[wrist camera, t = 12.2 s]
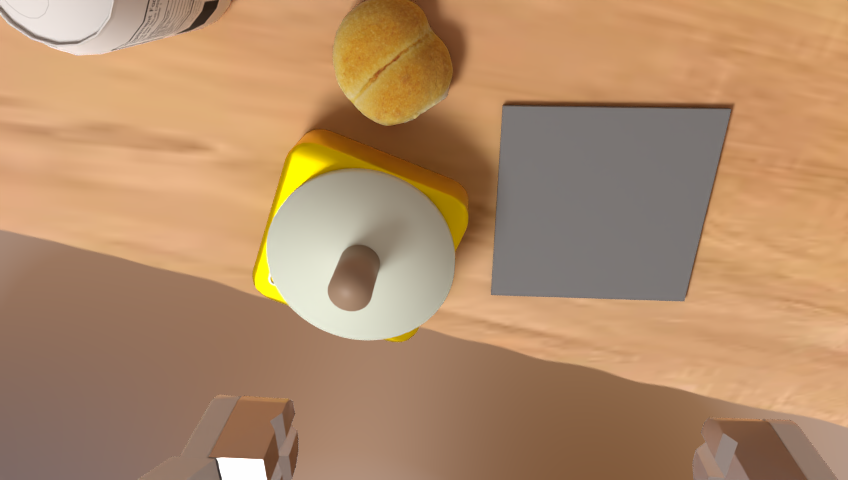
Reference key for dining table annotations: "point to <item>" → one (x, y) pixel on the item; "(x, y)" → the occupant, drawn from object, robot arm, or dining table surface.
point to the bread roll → (391, 61)
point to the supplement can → (107, 21)
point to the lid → (361, 254)
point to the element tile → (338, 152)
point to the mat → (603, 199)
